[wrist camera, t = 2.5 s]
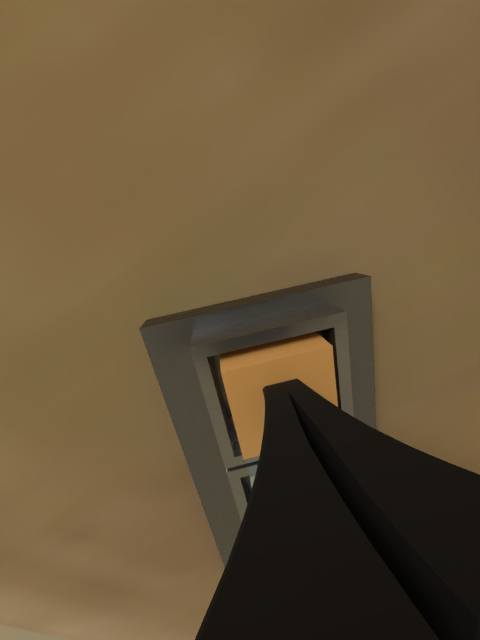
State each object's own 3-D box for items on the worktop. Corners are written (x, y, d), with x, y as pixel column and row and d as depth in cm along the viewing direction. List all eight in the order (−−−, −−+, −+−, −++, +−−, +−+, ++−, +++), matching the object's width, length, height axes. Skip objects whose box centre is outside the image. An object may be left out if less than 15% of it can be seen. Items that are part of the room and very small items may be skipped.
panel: (369, 534, 18) (399, 591, 15) (233, 571, 17) (237, 636, 14) (355, 272, 12) (401, 282, 9) (146, 320, 11) (124, 346, 8)
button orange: (319, 404, 12) (340, 435, 10) (238, 424, 12) (243, 459, 10) (310, 327, 11) (332, 345, 9) (219, 348, 10) (220, 372, 8)
